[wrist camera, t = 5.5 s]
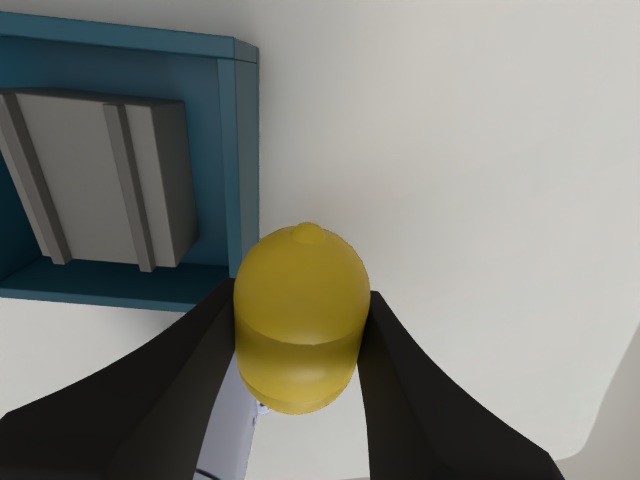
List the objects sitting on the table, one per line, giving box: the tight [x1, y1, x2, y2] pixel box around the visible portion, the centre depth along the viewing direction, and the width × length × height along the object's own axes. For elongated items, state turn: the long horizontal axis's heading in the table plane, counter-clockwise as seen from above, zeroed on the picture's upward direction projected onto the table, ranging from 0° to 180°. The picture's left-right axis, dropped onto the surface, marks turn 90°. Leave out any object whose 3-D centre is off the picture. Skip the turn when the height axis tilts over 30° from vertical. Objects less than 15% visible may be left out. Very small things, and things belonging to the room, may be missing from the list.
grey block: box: [0, 87, 199, 272], centre depth 15 cm, size 8×7×4 cm
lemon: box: [233, 222, 371, 415], centre depth 11 cm, size 8×5×5 cm, turn 174°
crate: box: [0, 11, 259, 313], centre depth 16 cm, size 13×14×5 cm
